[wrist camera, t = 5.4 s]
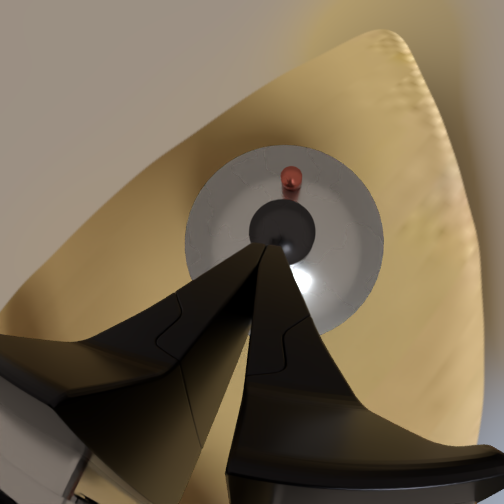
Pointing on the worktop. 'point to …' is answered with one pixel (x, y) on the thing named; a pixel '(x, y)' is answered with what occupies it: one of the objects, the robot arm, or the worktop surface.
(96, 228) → the worktop surface
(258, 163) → the cooker lid
